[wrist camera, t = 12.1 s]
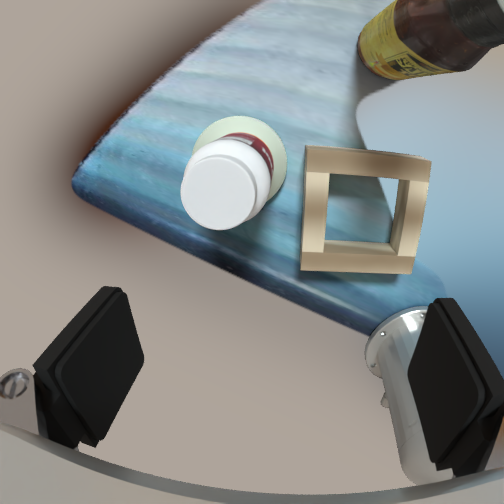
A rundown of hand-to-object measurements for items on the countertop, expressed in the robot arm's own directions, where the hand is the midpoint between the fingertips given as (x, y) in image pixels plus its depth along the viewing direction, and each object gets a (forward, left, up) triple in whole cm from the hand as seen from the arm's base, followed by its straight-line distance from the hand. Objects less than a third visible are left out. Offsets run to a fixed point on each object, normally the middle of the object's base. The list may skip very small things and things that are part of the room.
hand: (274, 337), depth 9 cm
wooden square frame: (-3, -8, -23) cm, 25 cm away
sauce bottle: (+13, -10, -23) cm, 28 cm away
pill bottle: (+1, +4, -22) cm, 23 cm away
